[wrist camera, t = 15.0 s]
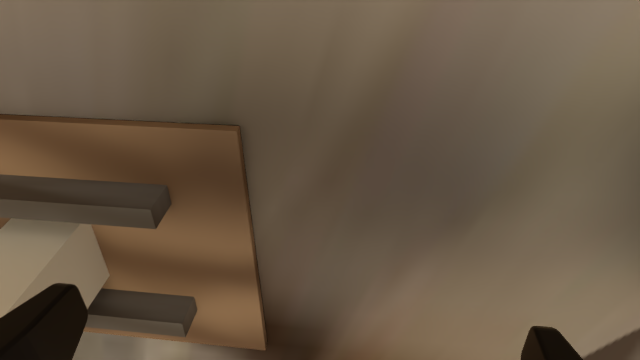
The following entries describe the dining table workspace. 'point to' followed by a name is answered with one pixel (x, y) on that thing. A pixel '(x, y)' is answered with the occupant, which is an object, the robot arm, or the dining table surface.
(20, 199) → the brown flat board
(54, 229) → the cream square-faced block
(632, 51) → the dining table surface
